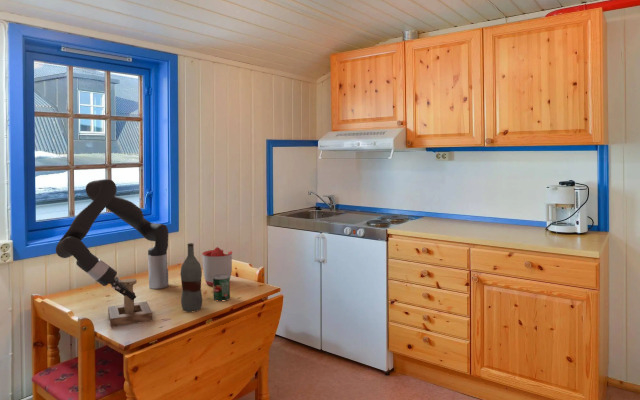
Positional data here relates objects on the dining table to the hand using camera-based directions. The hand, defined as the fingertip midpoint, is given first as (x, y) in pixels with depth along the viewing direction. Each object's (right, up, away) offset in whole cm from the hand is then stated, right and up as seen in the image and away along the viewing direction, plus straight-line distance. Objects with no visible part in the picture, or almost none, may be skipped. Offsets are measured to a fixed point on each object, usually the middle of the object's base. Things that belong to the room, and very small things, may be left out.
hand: (133, 296), depth 198 cm
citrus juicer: (+25, -4, +51) cm, 57 cm away
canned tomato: (+32, -6, +26) cm, 42 cm away
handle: (-2, -8, 0) cm, 8 cm away
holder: (-2, -9, 0) cm, 9 cm away
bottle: (+22, -8, +11) cm, 26 cm away
